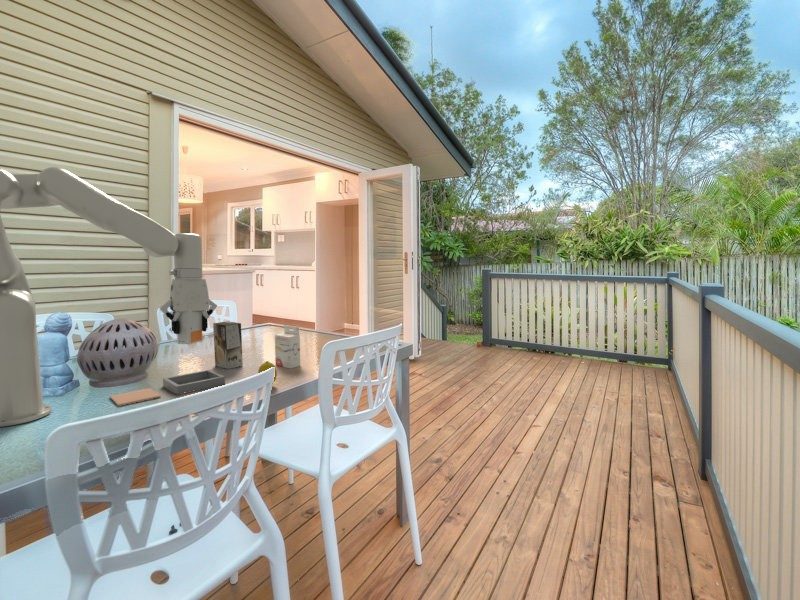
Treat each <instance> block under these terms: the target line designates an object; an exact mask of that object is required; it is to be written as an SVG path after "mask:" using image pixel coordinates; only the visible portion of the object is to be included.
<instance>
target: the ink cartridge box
mask: <svg viewBox="0 0 800 600" xmlns="http://www.w3.org/2000/svg"><path fill="white" fill-rule="evenodd" d="M290 329H291V330H290ZM283 331H284V332H281V333H277V334H275V335H274V346H275V347H274V350H275V351H274V353H275V354H274V355H275V359H274V361H275V366H278V367H282V368H287V369H295V368H297V367H301V339H300V338H301V335H300V327H299V326H295V325H294V326H293V325H285V324H284V325H283Z"/></svg>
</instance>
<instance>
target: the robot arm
mask: <svg viewBox="0 0 800 600" xmlns="http://www.w3.org/2000/svg"><path fill="white" fill-rule="evenodd" d="M55 206H56V207H57V206H60V207H62V208H63V209H66V210H68V211H69V212H71V213H72V214H75V215H76V216H77V217H79V218H81V219H84V220H85V221H87V222H89V223H90V224H92V225H94V226H96V227H98V228H100V229H102V230H103V231H104V230H105V231H108V232H112V233H115V234H118V235H120V236H122V237H125V238H127V239H129V240H130V241H133V242H134V243H136V244H138V245H140V246H142V249H143V251H144V252H145V253H146V254H148V255H149V256H151V257H153V258H166V257H173V262H174V263H173V265H174V266H173V270H169V271H168V272H169V276H173V277H174V278H172V280H171V284H170V293H169V300H168V301H166V302H165V303H164V304H163V305H161V306H160V307H159V310H160V311H161V312H162V313H163V314H164V316H166V317H167V318H168V319H169V320H171V332H173V334H175V335H178V334H179V333H180V329H179V321H178V317H179V315H180V313H181V312H187V306H188V305H191V311H192V312H198V311H201V312H202V332H207V329H208V319H209V318H210V316H211V315H212V314H213V313H214V311H215V310H216V308H217V307H218V305H217V304H216V303H215V302H213V301H212V300H211V299H210V296H209V290H208V284H207V280H206V278H203V253H202V252H203V250H202V249H203V248H202V247H203V246H202V245H203V243H202V242H203V241H202V237H201V235H199V234H197V233H191V232H190V233H188V232H187V233H186V232H180V233H176V234H174V233H173V232H172V231H170V229H167V228H166V227H164V226H162V225H161V224H160V223H158V222H157V221H155V220H153V219H151V218H149V217H148V216H146V215H144V214H143V213H141V212H139V211H137V210H135V209H133V208H130V207H129V206H128V205H126V204H124V203H122V202H120V201H118V200H117V199H115V198H113V197H111V196H110V195H108V194H106V193H105V192H103V191H102V190H100V189H98V188H97V187H95V186H93V185H92V184H91V183H88V182H87V181H85V180H84V179H82V178H80V177H79V176H77V175H75V174H74V173H72V172H70V171H68V170H67V169H65V168H61V167H58V166H57V167H56V166H53V167H47V168H44V169H43V170H41V171H40V172H39V173H24V174H23V173H22V174H20V173H19V174H18V173H17V174H14V173H13V174H11V173H10V172H9V171H7V170H5V169H3V168H1V167H0V210H1V209H2V210H3V209H4V210H5V209H6V210H9V209H10V210H13V209H25V208H27V209H28V208H45V207H55ZM168 308H169V309H170V310H171V311H172V313H171V312H170V311H169V310H168ZM36 312H37V311H36V302H35V299H34V296H33V293H32V290H31V288H30V285H29V282H28V280H27V277H26V273H25V271H24V267H23V265H22V263H21V260H20V258H19V257H18V255H17V254H16V253H14V251H13V249H12V246H11V244H10V241H9V238H8V234H7V233H6V229H5V226H4V223H3V220H2V216H1V215H0V428H2V427H9V426H10V427H11V426H14V425H20V424H25V423H30V422H32V421H36V420H39V419H42V418H44V417H45V416H48V415H50V414H51V413H52V406H51V405H49V404H44V402H43V401H44V400H43V399H44V398H43V389H42V376H41V365H40V364H41V363H40V352H39V342H38V331H37V314H36Z"/></svg>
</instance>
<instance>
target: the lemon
mask: <svg viewBox="0 0 800 600" xmlns="http://www.w3.org/2000/svg"><path fill="white" fill-rule="evenodd" d="M271 367H275V377H274V383H275V381H276V380H277V376H278V371H277V367H276V364H274V363H272V362H270V361H267V360H266V361H265V362H262V364H261V365H260V366H259V367H258V371H257V374H258V373H260V372H262V371H265V370H267V369H269V368H271Z"/></svg>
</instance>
